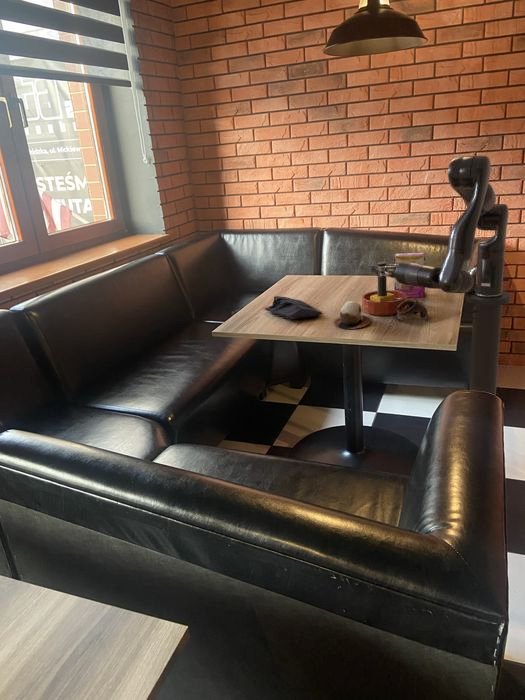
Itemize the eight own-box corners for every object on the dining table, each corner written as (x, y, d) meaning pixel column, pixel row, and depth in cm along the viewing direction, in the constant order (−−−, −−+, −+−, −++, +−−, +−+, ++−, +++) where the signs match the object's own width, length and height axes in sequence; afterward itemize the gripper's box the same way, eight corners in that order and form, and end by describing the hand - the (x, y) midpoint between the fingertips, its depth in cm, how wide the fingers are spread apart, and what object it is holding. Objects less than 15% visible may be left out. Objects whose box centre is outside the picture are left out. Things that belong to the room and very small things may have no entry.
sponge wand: (384, 304, 194) (383, 260, 188) (394, 306, 190) (394, 261, 184) (370, 308, 190) (369, 263, 185) (380, 310, 186) (379, 265, 181)
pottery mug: (431, 325, 172) (419, 306, 169) (404, 337, 176) (392, 318, 173) (430, 306, 181) (418, 287, 178) (404, 317, 186) (393, 299, 183)
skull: (341, 312, 188) (358, 292, 182) (362, 333, 186) (380, 314, 180) (325, 322, 179) (343, 301, 173) (347, 344, 177) (366, 324, 171)
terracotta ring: (379, 301, 202) (378, 288, 200) (415, 307, 190) (415, 293, 189) (353, 311, 192) (352, 298, 190) (390, 318, 181) (390, 304, 179)
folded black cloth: (286, 324, 185) (285, 311, 183) (263, 309, 205) (261, 297, 203) (325, 315, 190) (324, 302, 188) (299, 302, 209) (298, 290, 208)
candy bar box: (394, 299, 202) (393, 256, 197) (395, 295, 207) (394, 253, 201) (425, 298, 199) (425, 254, 193) (425, 294, 204) (425, 251, 198)
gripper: (428, 258, 176) (390, 253, 189) (398, 266, 169) (360, 260, 183) (428, 281, 178) (390, 274, 192) (398, 289, 171) (361, 282, 185)
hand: (375, 267), depth 187 cm, fingers closed on sponge wand, 3 cm apart
